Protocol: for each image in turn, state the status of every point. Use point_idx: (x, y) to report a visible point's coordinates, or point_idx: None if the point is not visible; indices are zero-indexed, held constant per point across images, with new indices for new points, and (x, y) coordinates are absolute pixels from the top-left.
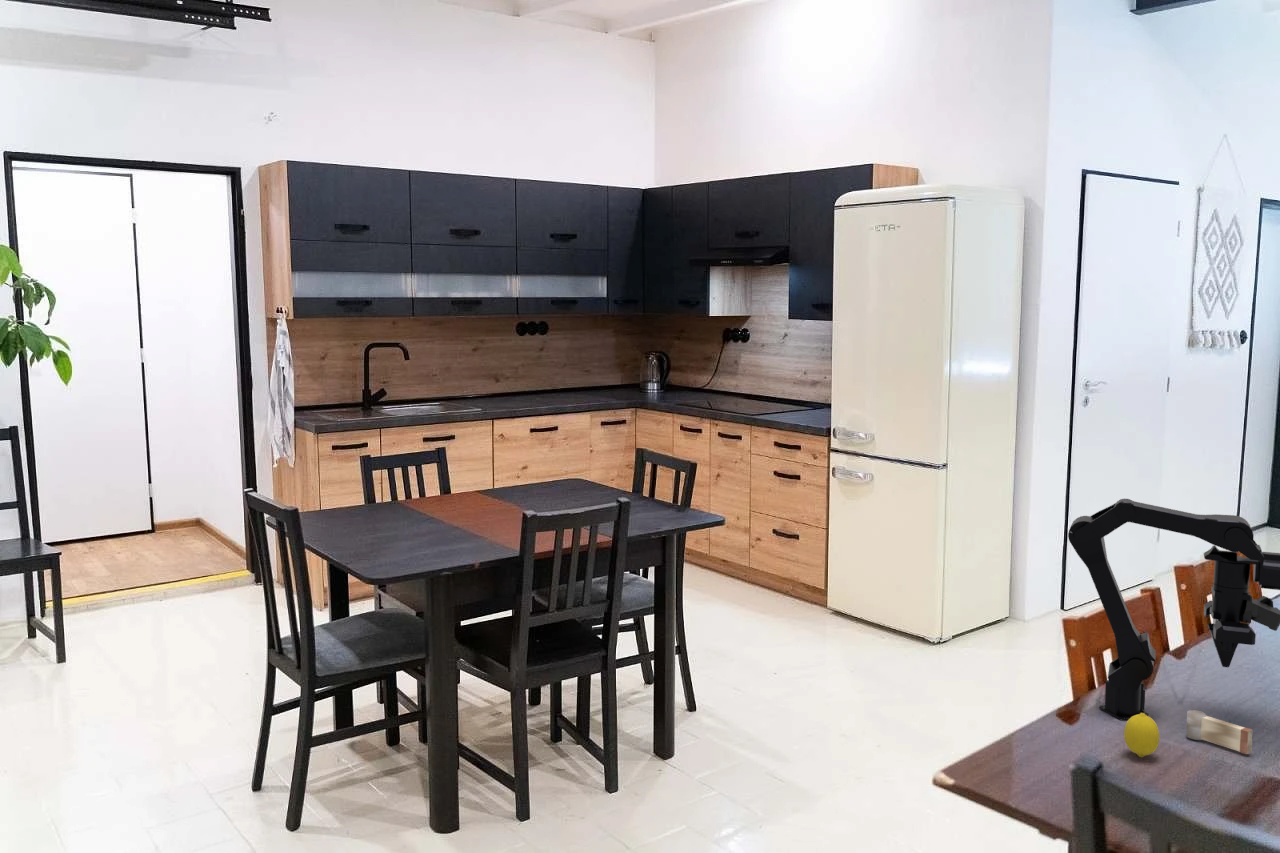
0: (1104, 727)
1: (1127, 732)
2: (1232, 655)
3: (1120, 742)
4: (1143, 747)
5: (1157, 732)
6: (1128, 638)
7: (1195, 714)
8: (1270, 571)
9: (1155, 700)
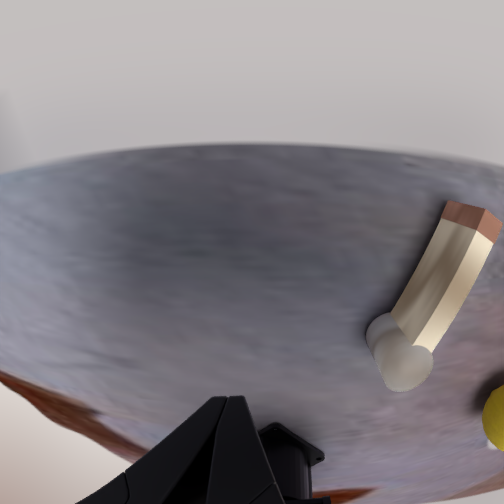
0: (371, 462)
1: None
2: (266, 462)
3: (437, 431)
4: None
5: None
6: None
7: (419, 371)
8: None
9: (150, 406)
